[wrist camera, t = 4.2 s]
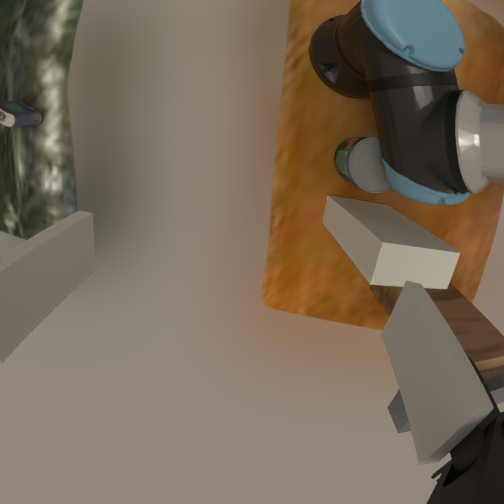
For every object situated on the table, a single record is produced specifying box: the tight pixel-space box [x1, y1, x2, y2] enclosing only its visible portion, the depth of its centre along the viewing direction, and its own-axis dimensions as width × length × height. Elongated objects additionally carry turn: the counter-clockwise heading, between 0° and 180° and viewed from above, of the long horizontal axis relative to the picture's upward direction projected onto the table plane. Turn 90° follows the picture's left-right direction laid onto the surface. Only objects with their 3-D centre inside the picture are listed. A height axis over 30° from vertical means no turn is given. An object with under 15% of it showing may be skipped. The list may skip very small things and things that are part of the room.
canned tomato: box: [334, 137, 392, 193], centre depth 42 cm, size 8×8×11 cm
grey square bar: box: [388, 365, 504, 433], centre depth 27 cm, size 4×24×4 cm, turn 83°
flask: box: [0, 101, 43, 127], centre depth 35 cm, size 9×3×11 cm, turn 55°
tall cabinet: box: [370, 283, 504, 371], centre depth 43 cm, size 7×14×30 cm, turn 83°
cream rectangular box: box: [322, 195, 460, 289], centre depth 41 cm, size 6×12×22 cm, turn 83°
